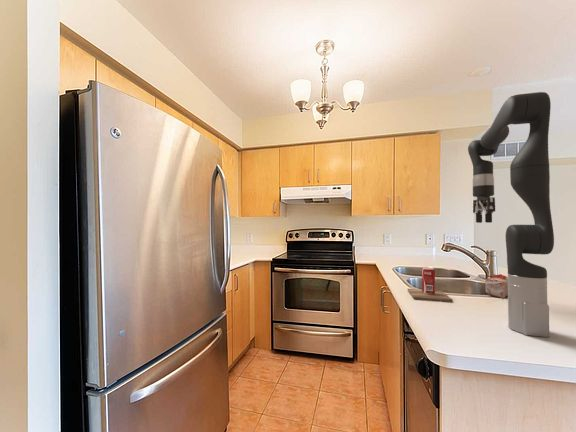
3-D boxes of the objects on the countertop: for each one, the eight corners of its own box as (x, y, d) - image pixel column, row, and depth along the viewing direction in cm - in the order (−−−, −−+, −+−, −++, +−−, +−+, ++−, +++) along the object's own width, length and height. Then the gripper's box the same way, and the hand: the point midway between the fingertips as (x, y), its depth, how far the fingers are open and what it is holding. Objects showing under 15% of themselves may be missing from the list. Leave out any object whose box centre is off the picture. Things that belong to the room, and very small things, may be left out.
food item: (505, 300, 116) (505, 277, 116) (484, 296, 122) (483, 274, 122) (514, 294, 124) (513, 273, 124) (493, 291, 130) (493, 271, 131)
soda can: (423, 291, 124) (423, 266, 125) (436, 293, 121) (435, 267, 121) (420, 293, 120) (420, 267, 121) (433, 295, 117) (433, 268, 117)
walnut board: (452, 302, 111) (452, 299, 111) (414, 299, 115) (414, 296, 115) (441, 293, 126) (441, 290, 126) (407, 290, 130) (407, 288, 130)
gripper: (502, 182, 107) (502, 222, 106) (485, 187, 121) (485, 222, 120) (481, 183, 109) (481, 222, 108) (466, 187, 122) (466, 222, 122)
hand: (483, 222), depth 114 cm, fingers open, 8 cm apart
